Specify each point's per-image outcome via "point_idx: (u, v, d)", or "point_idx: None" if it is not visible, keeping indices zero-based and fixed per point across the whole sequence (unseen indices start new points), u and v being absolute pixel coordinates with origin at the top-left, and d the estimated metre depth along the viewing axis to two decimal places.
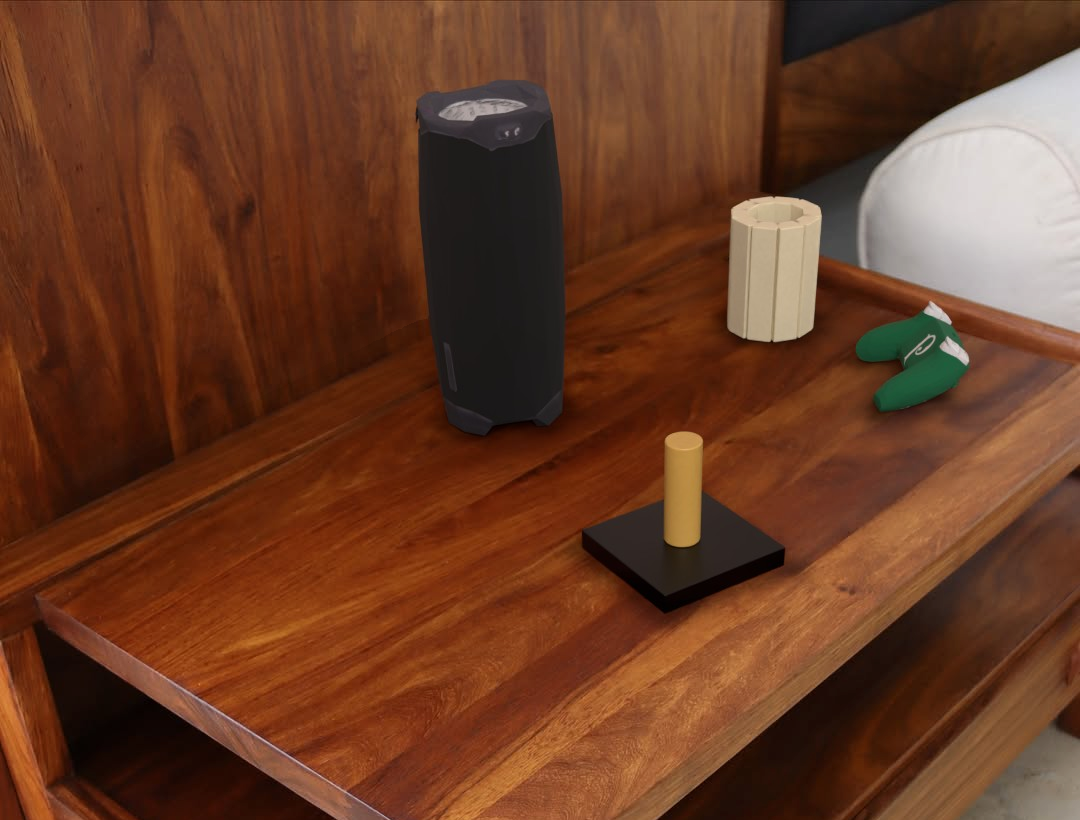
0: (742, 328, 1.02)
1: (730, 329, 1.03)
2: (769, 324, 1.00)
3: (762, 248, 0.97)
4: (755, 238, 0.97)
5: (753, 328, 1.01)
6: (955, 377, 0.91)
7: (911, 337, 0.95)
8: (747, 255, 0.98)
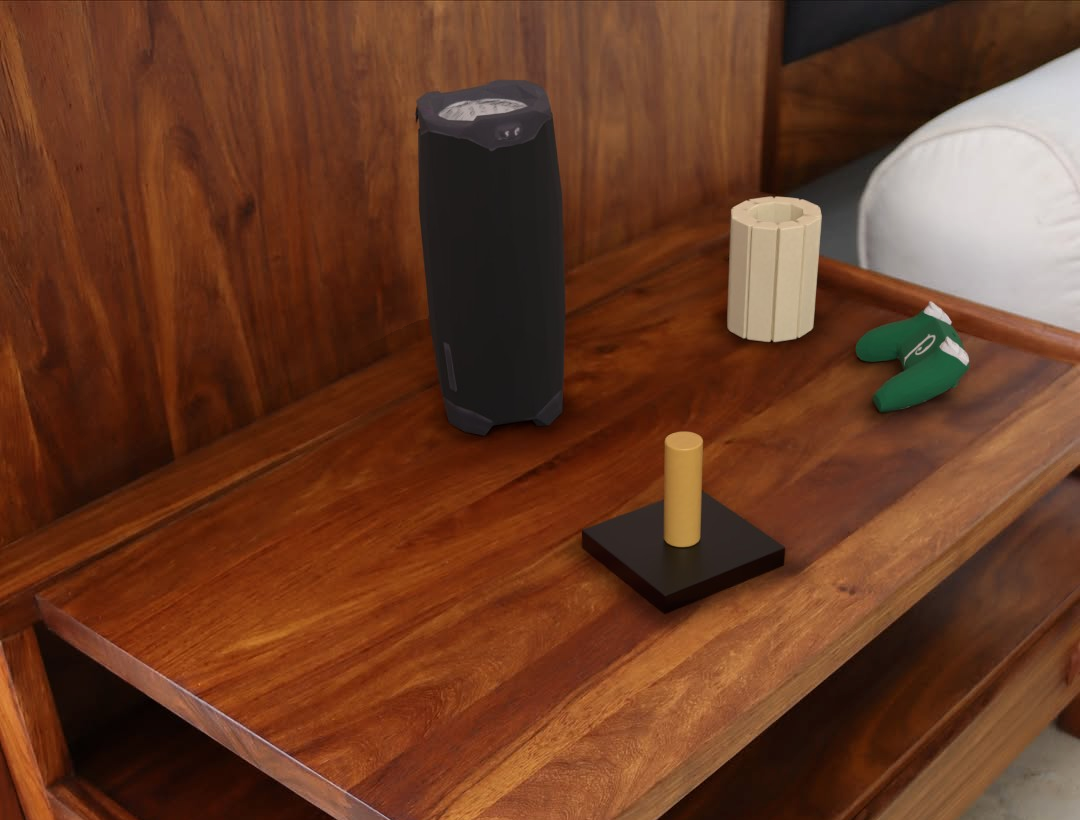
0: (742, 328, 1.02)
1: (730, 329, 1.03)
2: (769, 324, 1.00)
3: (762, 248, 0.97)
4: (755, 238, 0.97)
5: (753, 328, 1.01)
6: (955, 377, 0.91)
7: (911, 337, 0.95)
8: (747, 255, 0.98)
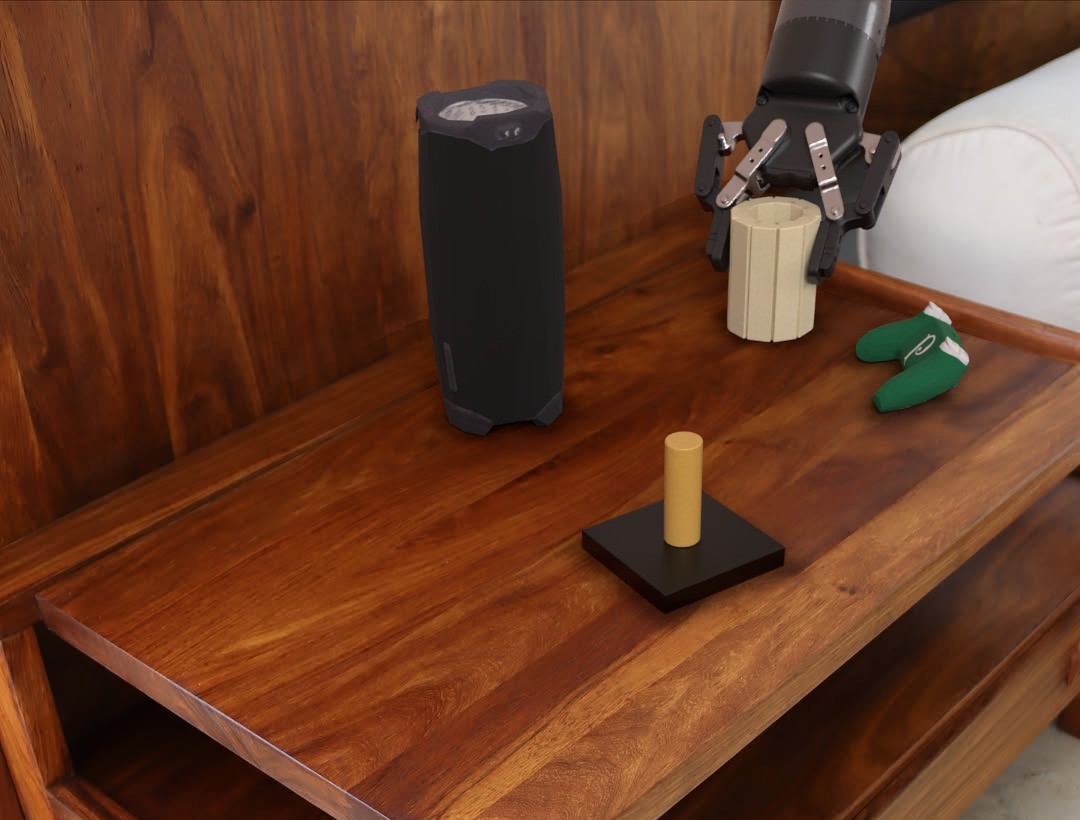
0: (742, 328, 1.02)
1: (730, 329, 1.03)
2: (769, 324, 1.00)
3: (762, 248, 0.97)
4: (755, 238, 0.97)
5: (752, 328, 1.01)
6: (955, 377, 0.91)
7: (911, 337, 0.95)
8: (747, 255, 0.98)
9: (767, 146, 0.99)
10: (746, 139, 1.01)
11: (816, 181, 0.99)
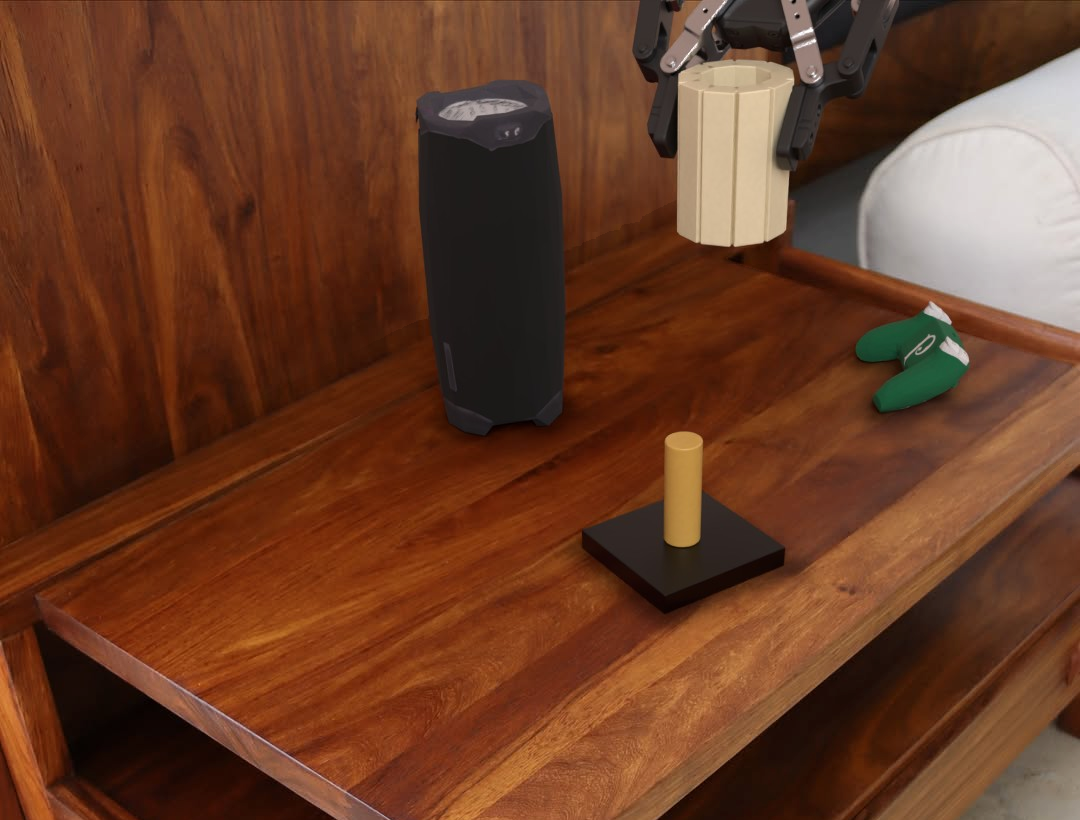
0: (694, 229, 0.79)
1: (680, 232, 0.81)
2: (728, 223, 0.78)
3: (717, 120, 0.75)
4: (707, 107, 0.75)
5: (707, 228, 0.79)
6: (955, 377, 0.91)
7: (911, 337, 0.95)
8: (698, 131, 0.76)
9: None
10: None
11: (788, 36, 0.77)
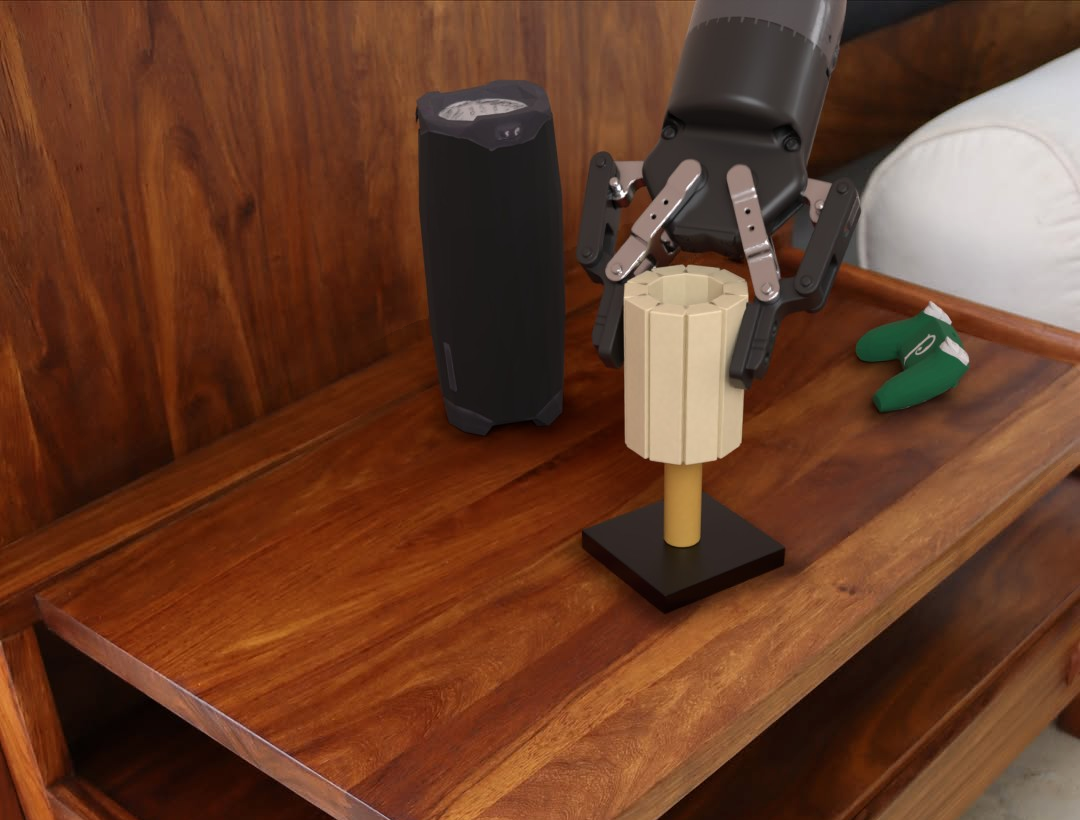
0: (643, 445, 0.74)
1: (628, 445, 0.75)
2: (678, 442, 0.73)
3: (665, 341, 0.70)
4: (655, 327, 0.69)
5: (657, 446, 0.73)
6: (955, 377, 0.91)
7: (911, 337, 0.95)
8: (645, 349, 0.70)
9: (675, 197, 0.71)
10: (648, 186, 0.73)
11: (743, 245, 0.71)
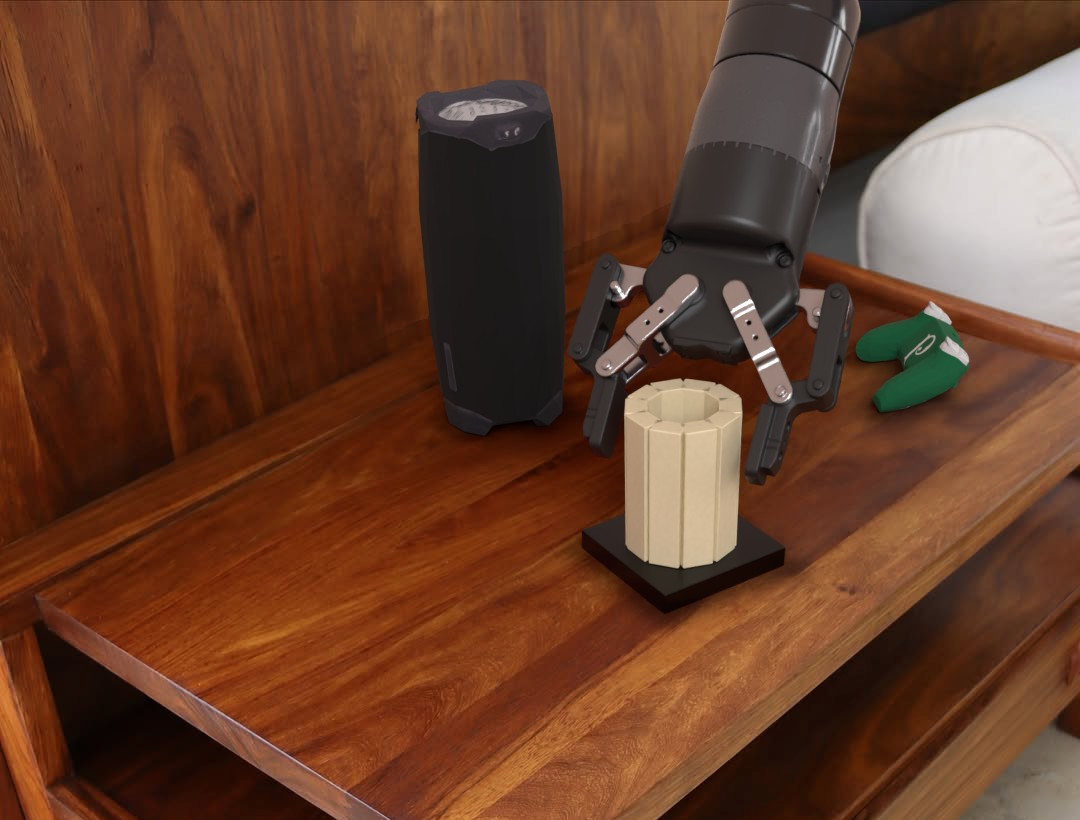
0: (642, 549, 0.78)
1: (628, 547, 0.79)
2: (676, 547, 0.77)
3: (663, 456, 0.74)
4: (654, 443, 0.73)
5: (655, 550, 0.77)
6: (955, 377, 0.91)
7: (911, 337, 0.95)
8: (644, 463, 0.74)
9: (673, 309, 0.75)
10: (648, 297, 0.77)
11: (738, 355, 0.75)
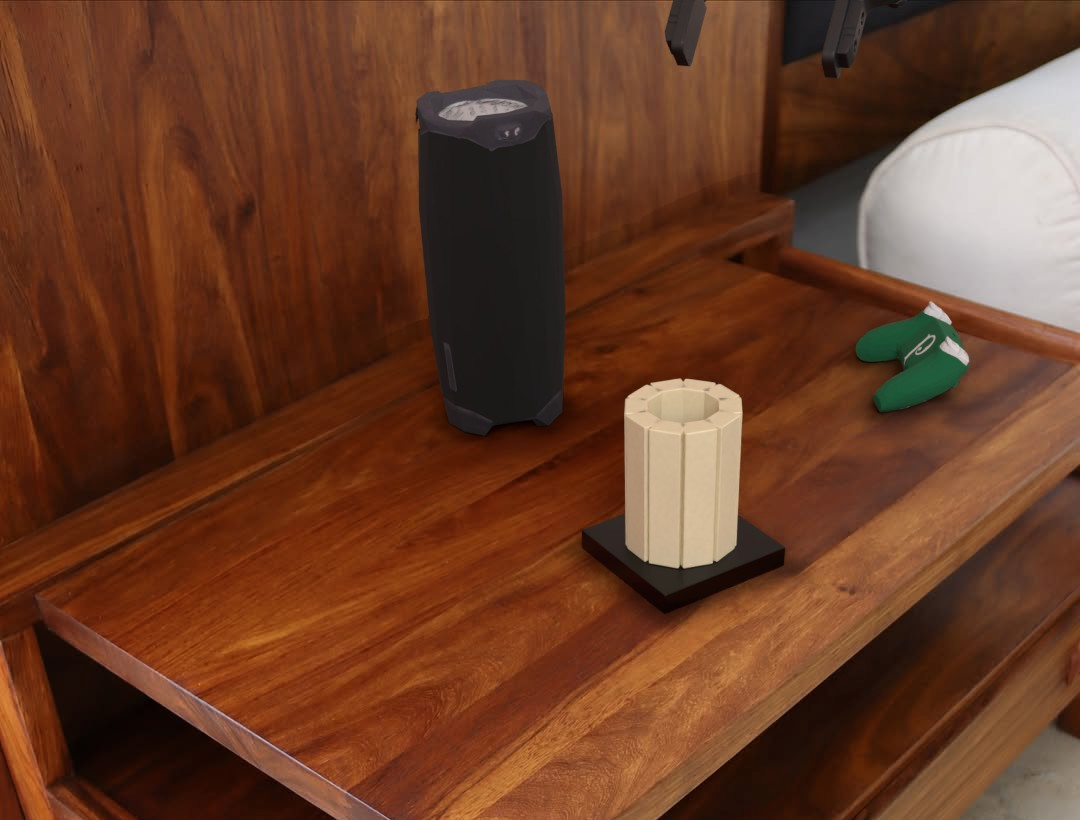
0: (642, 549, 0.78)
1: (628, 547, 0.79)
2: (676, 547, 0.77)
3: (663, 456, 0.74)
4: (654, 443, 0.73)
5: (655, 550, 0.77)
6: (955, 377, 0.91)
7: (911, 337, 0.95)
8: (644, 463, 0.74)
9: None
10: None
11: None
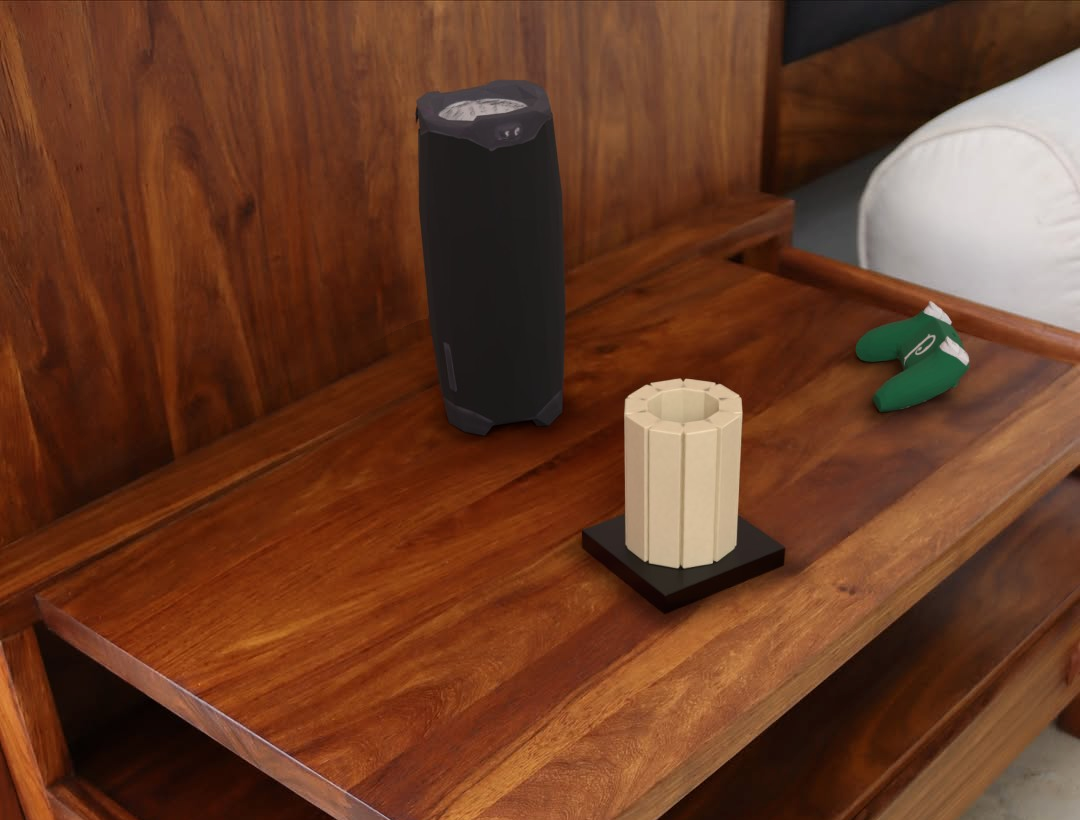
0: (642, 549, 0.78)
1: (628, 547, 0.79)
2: (676, 547, 0.77)
3: (663, 456, 0.74)
4: (654, 443, 0.73)
5: (655, 550, 0.77)
6: (955, 377, 0.91)
7: (911, 337, 0.95)
8: (644, 463, 0.74)
9: None
10: None
11: None
